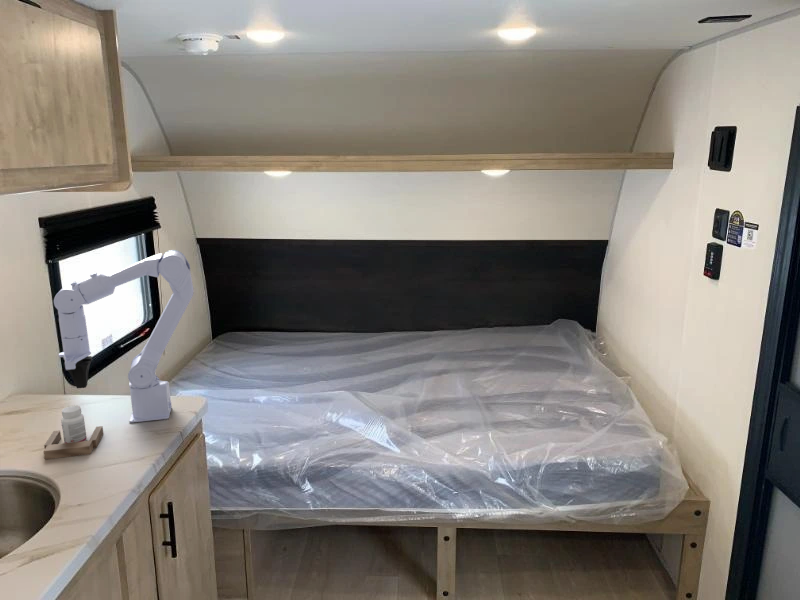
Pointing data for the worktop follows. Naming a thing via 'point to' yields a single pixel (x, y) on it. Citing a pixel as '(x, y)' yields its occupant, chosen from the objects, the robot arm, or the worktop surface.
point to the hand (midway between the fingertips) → (81, 387)
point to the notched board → (71, 445)
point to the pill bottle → (73, 425)
